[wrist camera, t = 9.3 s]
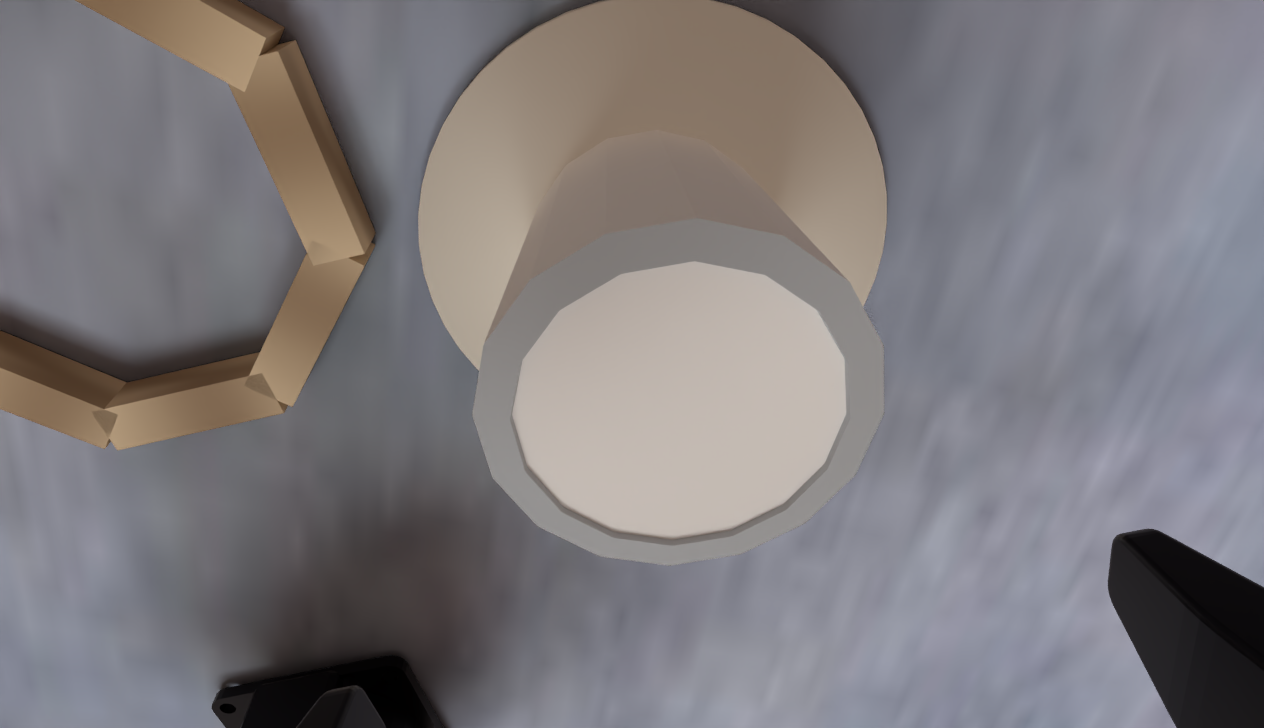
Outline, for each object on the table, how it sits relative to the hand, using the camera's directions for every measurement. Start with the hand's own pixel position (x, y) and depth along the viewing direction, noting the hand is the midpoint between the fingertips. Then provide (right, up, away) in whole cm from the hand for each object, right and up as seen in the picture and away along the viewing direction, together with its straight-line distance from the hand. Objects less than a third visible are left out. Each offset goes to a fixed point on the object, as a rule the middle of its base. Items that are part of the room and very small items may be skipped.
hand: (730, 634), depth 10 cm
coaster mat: (-1, +6, +10) cm, 12 cm away
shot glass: (-1, +6, +10) cm, 12 cm away
